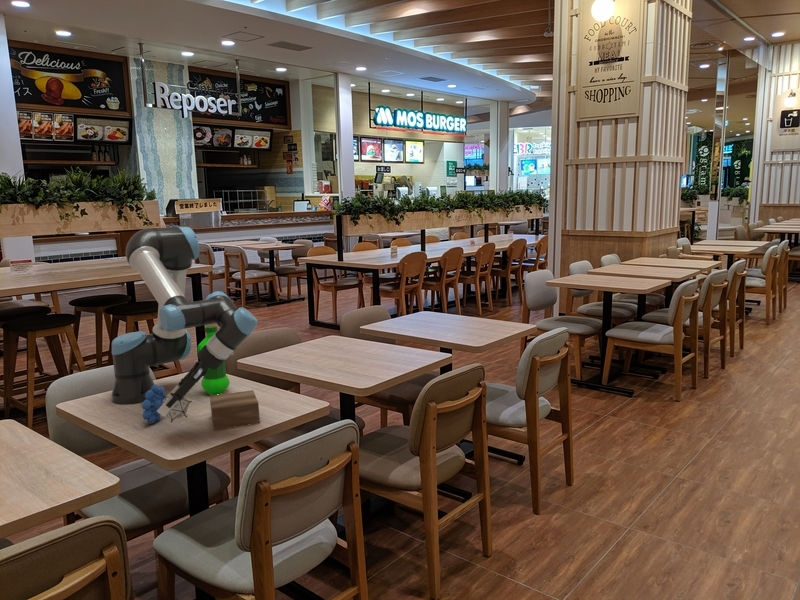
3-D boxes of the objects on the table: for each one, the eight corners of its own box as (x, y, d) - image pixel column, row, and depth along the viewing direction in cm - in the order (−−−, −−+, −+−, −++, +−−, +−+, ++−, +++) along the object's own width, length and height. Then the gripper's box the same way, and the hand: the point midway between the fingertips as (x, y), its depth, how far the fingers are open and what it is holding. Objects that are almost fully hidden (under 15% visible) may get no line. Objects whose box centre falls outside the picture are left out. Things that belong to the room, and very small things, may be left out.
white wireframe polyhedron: (183, 431, 184) (192, 410, 179) (154, 425, 181) (162, 404, 175) (187, 408, 191) (195, 387, 185) (158, 402, 187) (167, 381, 182)
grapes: (155, 414, 205) (152, 379, 203) (173, 415, 203) (170, 380, 201) (133, 427, 193) (129, 390, 191) (151, 428, 192) (148, 391, 190)
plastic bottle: (234, 388, 230) (229, 323, 226) (224, 397, 220) (218, 329, 216) (208, 388, 231) (202, 323, 227) (197, 397, 221) (191, 330, 216)
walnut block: (211, 416, 202) (209, 395, 201) (254, 410, 207) (253, 390, 206) (213, 430, 189) (212, 409, 188) (259, 424, 194) (258, 402, 193)
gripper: (221, 370, 173) (167, 429, 173) (228, 351, 193) (179, 404, 193) (200, 353, 171) (145, 413, 171) (209, 336, 191) (160, 389, 191)
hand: (163, 408), depth 182 cm, fingers closed on white wireframe polyhedron, 8 cm apart
